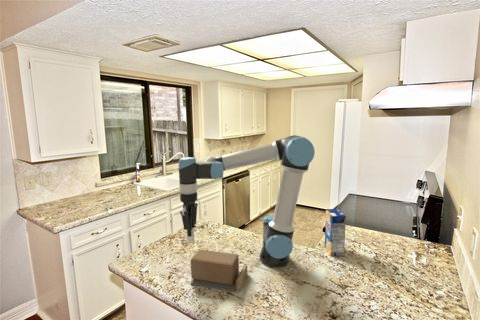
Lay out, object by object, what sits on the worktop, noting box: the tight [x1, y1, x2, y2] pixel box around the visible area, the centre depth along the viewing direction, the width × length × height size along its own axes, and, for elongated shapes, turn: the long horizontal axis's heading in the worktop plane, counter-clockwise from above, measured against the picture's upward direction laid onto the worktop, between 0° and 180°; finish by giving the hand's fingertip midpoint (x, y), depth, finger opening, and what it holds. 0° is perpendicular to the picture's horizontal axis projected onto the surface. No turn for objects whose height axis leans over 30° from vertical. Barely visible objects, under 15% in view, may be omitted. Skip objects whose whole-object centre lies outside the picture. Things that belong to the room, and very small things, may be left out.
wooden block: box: [190, 249, 240, 285], centre depth 119 cm, size 10×10×20 cm
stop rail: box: [236, 263, 248, 293], centre depth 116 cm, size 1×14×5 cm, turn 164°
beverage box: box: [324, 208, 347, 257], centre depth 141 cm, size 7×11×22 cm, turn 179°
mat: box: [190, 270, 241, 293], centre depth 119 cm, size 21×14×1 cm, turn 74°
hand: (191, 241), depth 121 cm, fingers closed
